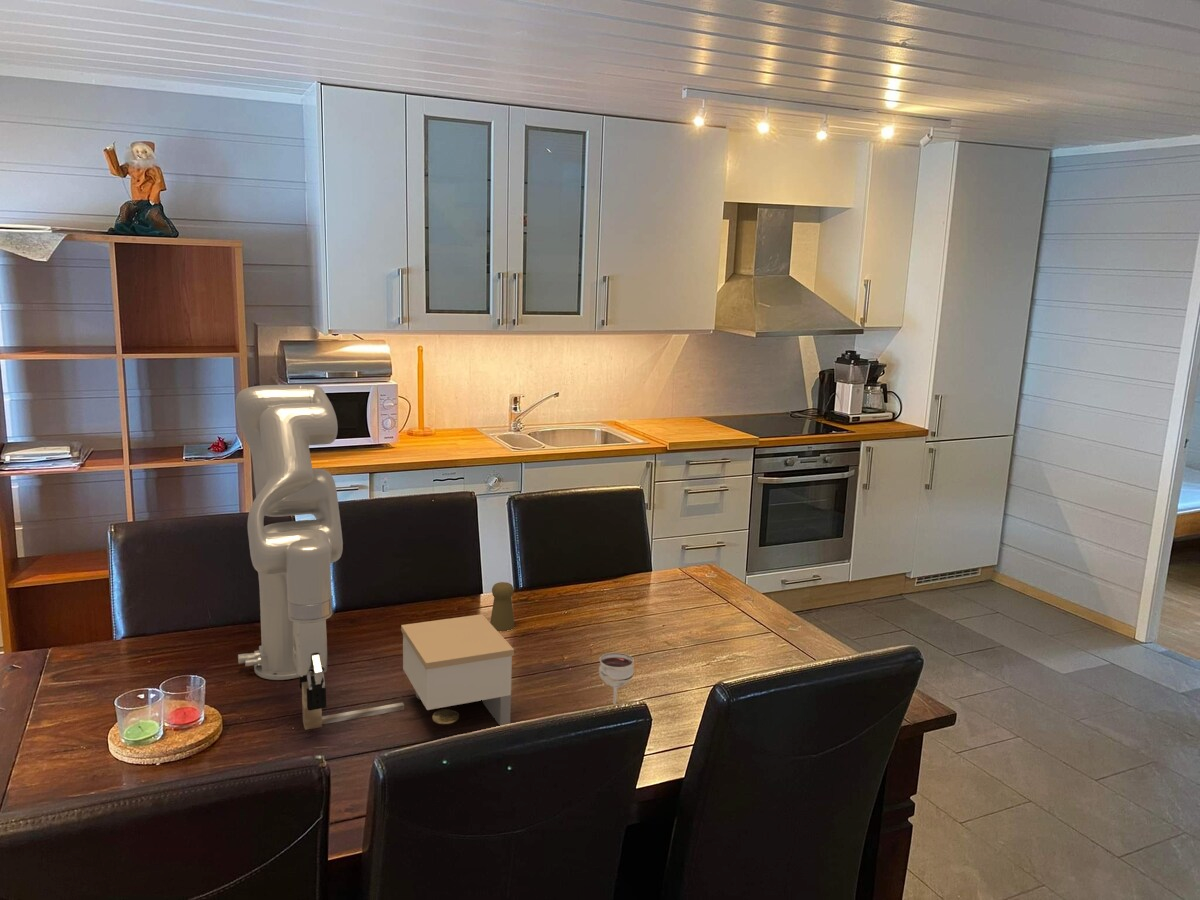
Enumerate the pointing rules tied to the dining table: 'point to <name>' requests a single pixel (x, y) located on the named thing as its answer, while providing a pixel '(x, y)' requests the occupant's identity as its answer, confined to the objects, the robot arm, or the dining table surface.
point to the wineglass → (616, 670)
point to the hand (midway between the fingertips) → (312, 697)
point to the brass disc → (445, 716)
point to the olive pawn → (502, 607)
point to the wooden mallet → (316, 719)
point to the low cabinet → (459, 664)
